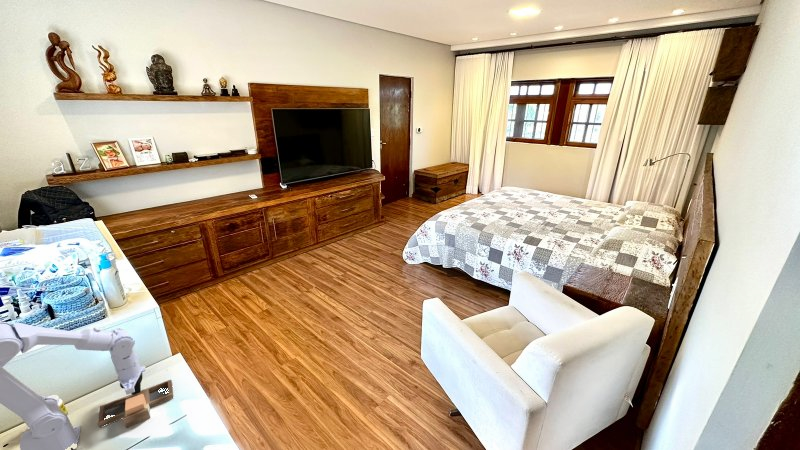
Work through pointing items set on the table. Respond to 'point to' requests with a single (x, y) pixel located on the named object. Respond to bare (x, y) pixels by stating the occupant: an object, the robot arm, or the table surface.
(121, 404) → the board
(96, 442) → the table surface
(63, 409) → the supplement bottle
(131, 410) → the block
